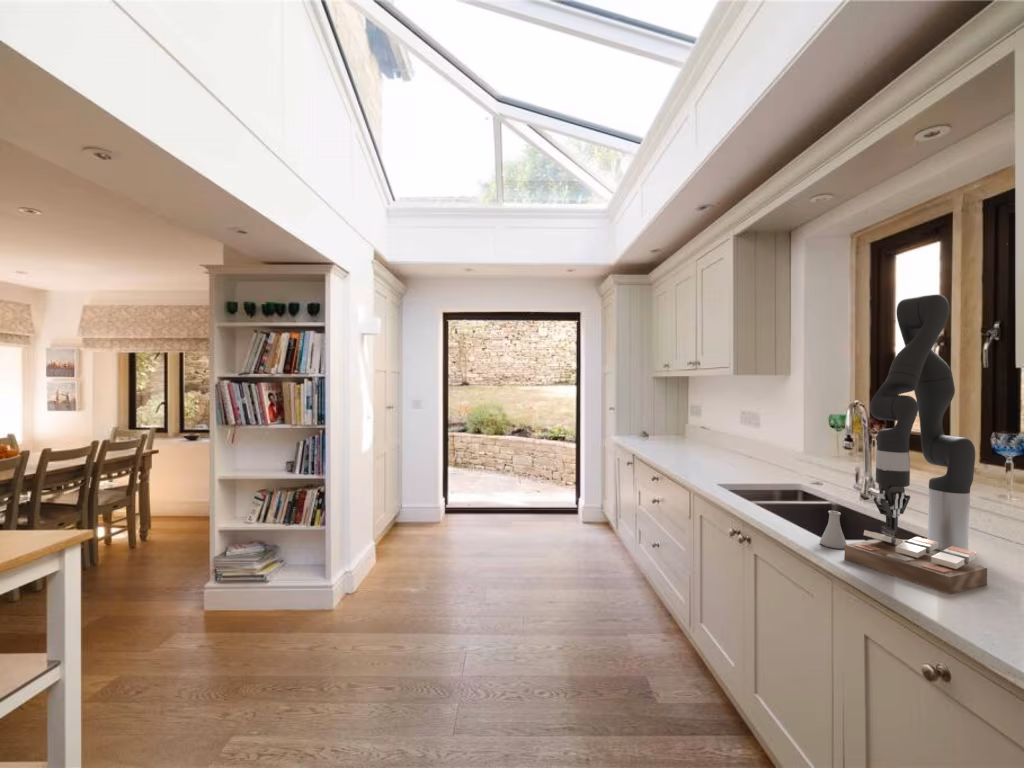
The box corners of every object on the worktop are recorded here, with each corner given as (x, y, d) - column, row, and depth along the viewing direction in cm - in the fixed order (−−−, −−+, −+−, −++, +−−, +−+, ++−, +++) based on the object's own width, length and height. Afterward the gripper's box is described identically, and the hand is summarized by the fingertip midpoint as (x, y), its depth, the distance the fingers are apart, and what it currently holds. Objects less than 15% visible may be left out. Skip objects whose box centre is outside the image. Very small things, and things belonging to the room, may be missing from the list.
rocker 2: (915, 542, 135) (915, 535, 135) (938, 548, 130) (938, 541, 130) (895, 552, 131) (894, 545, 131) (918, 558, 127) (917, 551, 127)
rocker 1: (882, 540, 142) (883, 534, 142) (902, 546, 137) (904, 540, 138) (862, 535, 139) (864, 529, 139) (883, 541, 134) (884, 534, 134)
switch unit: (880, 552, 144) (881, 537, 144) (986, 584, 122) (987, 566, 122) (844, 559, 138) (844, 543, 138) (949, 594, 116) (950, 575, 116)
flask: (852, 550, 145) (853, 516, 145) (825, 548, 147) (826, 514, 147) (841, 542, 153) (842, 509, 152) (815, 540, 154) (816, 508, 154)
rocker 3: (951, 552, 128) (951, 545, 128) (977, 558, 123) (976, 551, 123) (931, 562, 124) (930, 555, 124) (956, 570, 119) (956, 562, 119)
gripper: (892, 463, 145) (891, 523, 145) (863, 466, 140) (862, 529, 140) (922, 468, 138) (921, 531, 139) (893, 471, 133) (892, 537, 133)
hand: (891, 530), depth 139 cm, fingers closed
